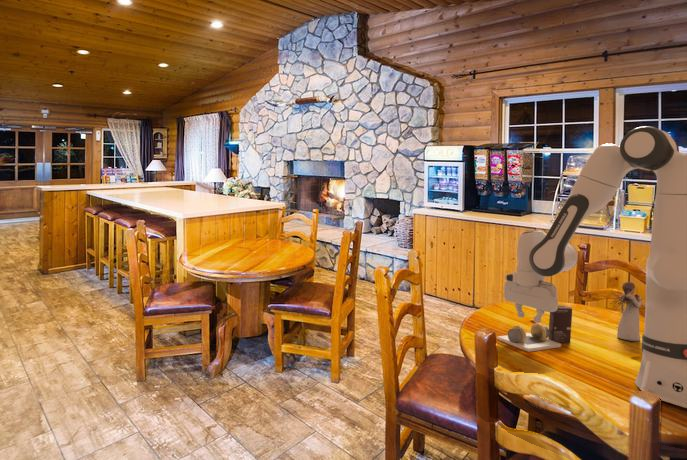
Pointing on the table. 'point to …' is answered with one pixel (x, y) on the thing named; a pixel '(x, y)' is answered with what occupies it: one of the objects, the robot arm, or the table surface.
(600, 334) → the table surface
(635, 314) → the figurine
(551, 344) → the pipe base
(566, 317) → the box
